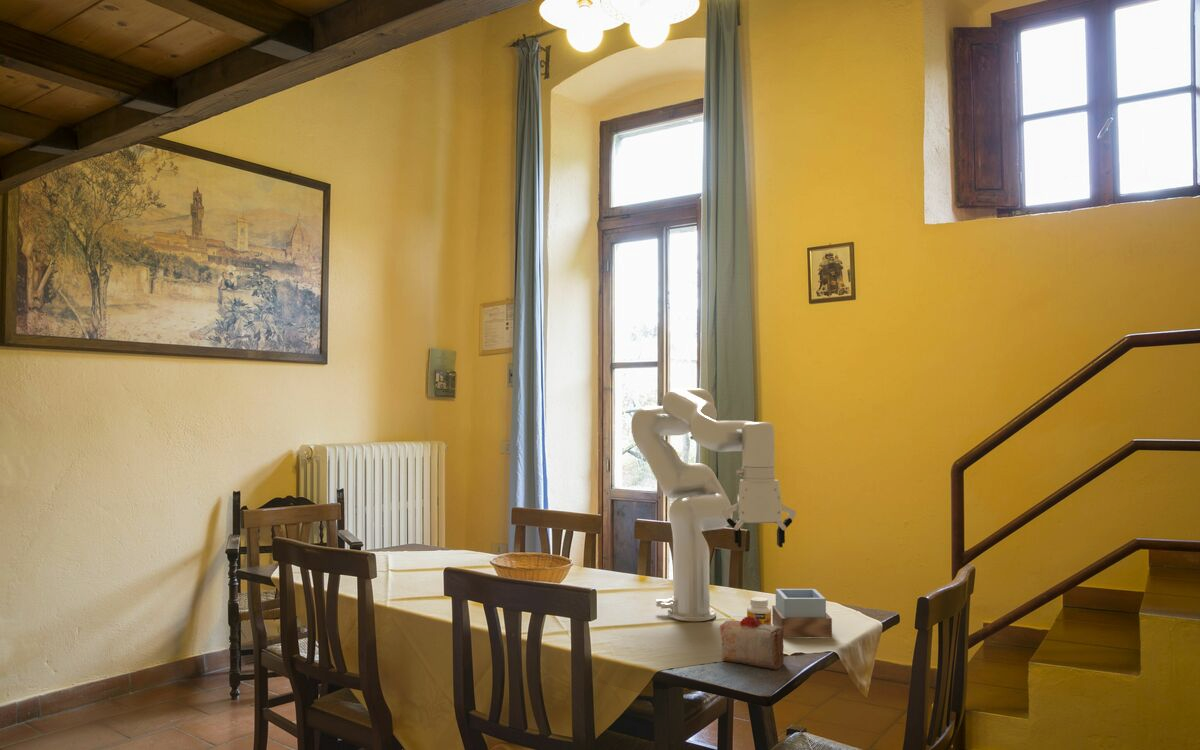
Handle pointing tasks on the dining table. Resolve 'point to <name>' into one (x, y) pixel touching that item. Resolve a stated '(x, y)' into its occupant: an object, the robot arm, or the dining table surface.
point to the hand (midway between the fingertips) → (759, 546)
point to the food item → (752, 643)
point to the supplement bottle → (760, 610)
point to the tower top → (800, 603)
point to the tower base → (803, 625)
